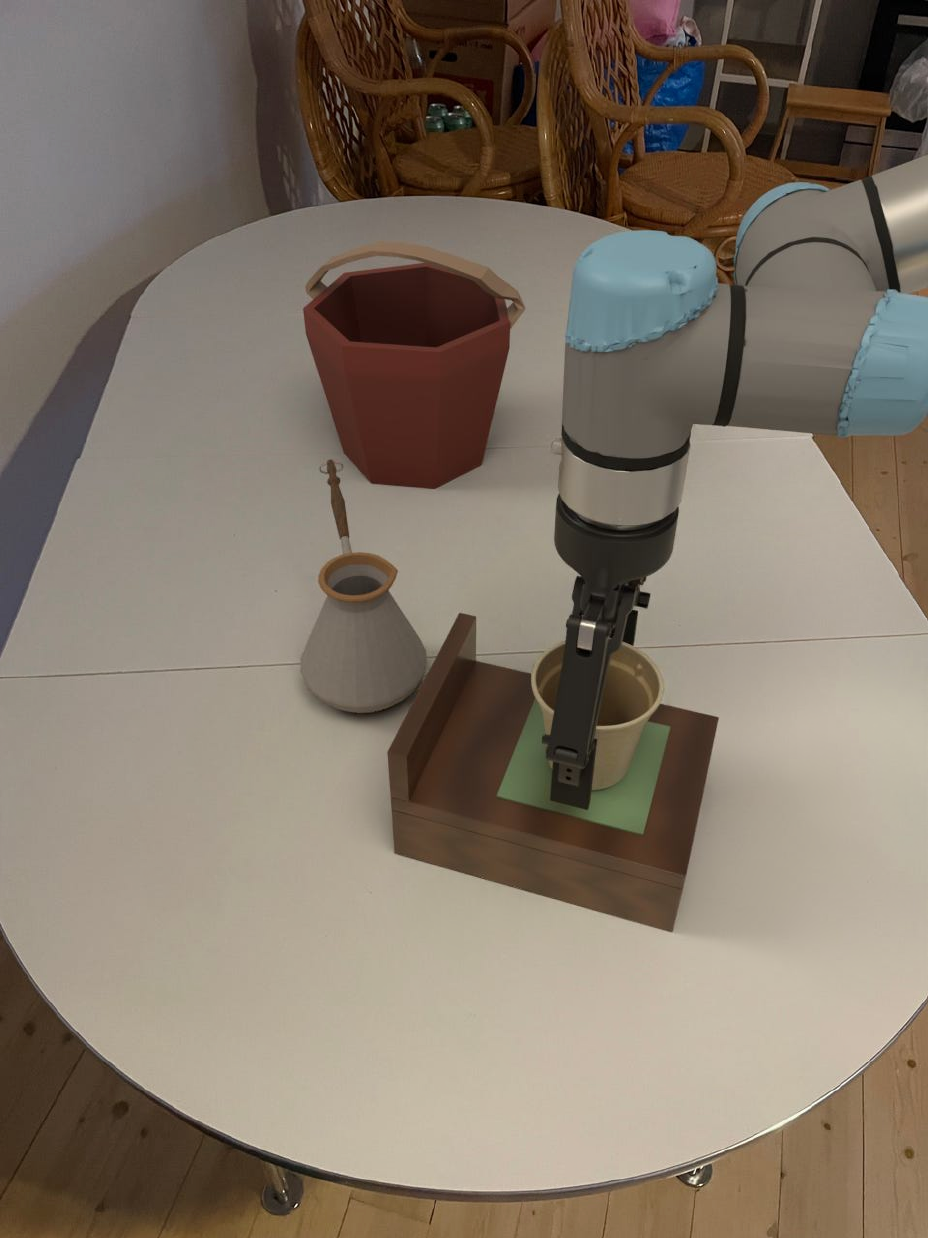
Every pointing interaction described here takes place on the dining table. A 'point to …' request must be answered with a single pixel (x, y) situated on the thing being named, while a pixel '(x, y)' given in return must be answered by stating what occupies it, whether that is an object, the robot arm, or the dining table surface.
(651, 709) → the flower pot
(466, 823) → the plant shelf
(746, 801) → the dining table surface
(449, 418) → the bucket
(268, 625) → the dining table surface
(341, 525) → the coffee pot
